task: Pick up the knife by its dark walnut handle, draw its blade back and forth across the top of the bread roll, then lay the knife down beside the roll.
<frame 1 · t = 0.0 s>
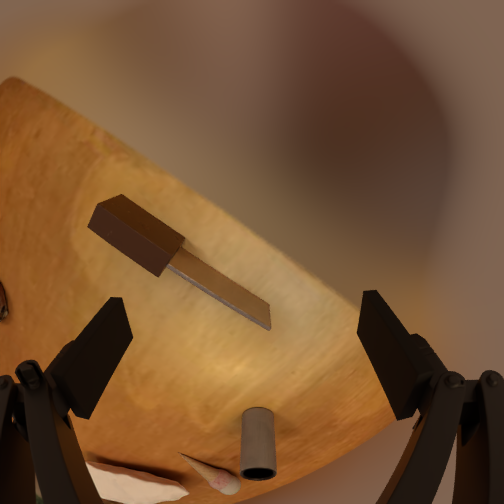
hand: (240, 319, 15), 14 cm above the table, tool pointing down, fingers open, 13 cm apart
knife: (179, 247, 28), on the table
white rock slab: (131, 472, 48), on the table
grey cylinder: (257, 415, 37), on the table
ice cream cone: (209, 466, 43), on the table
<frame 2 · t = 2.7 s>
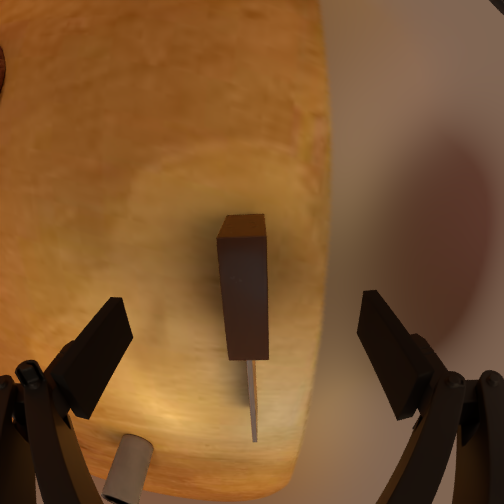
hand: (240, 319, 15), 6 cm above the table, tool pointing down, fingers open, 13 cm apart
knife: (250, 317, 22), on the table
grey cylinder: (138, 441, 30), on the table
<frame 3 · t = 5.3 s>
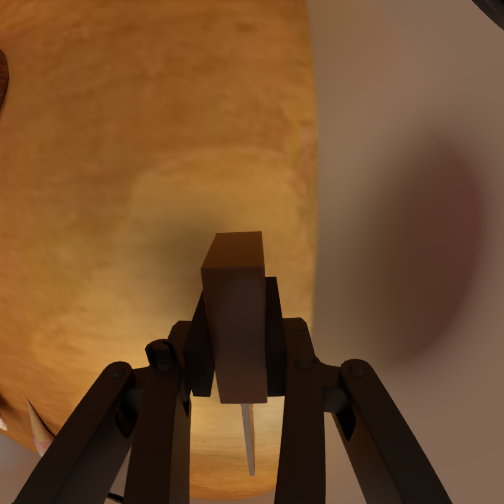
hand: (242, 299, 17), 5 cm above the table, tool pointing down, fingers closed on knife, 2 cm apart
knife: (246, 348, 18), point 5 cm above the table, touching gripper
grey cylinder: (136, 439, 30), on the table
ice cream cone: (42, 424, 32), on the table
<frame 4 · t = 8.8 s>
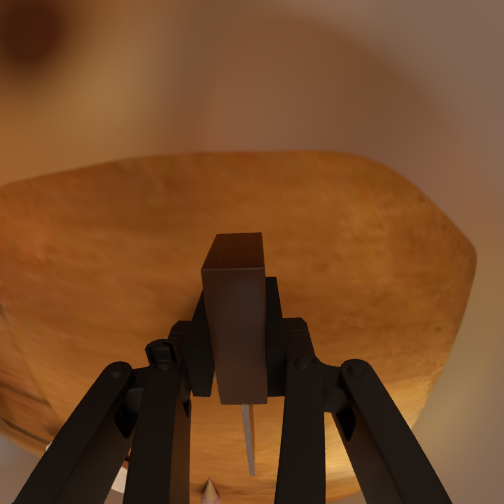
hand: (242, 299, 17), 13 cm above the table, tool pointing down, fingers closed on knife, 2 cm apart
knife: (246, 349, 18), point 12 cm above the table, touching gripper
white rock slab: (113, 457, 47), on the table
ice cream cone: (208, 487, 50), on the table
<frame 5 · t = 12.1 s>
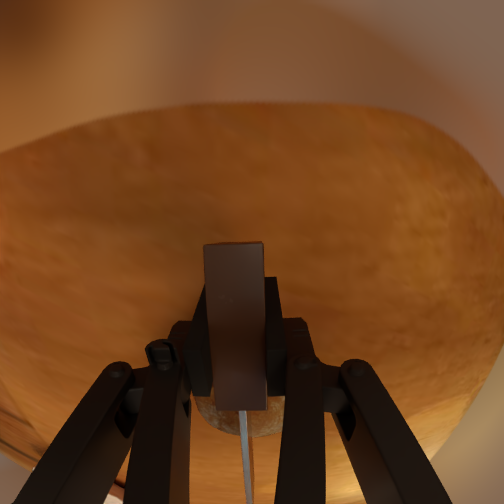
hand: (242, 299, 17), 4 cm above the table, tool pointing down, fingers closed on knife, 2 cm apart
bread roll: (250, 369, 24), on the table
knife: (245, 368, 17), point 5 cm above the table, tilted 17°, touching gripper
white rock slab: (106, 481, 38), on the table
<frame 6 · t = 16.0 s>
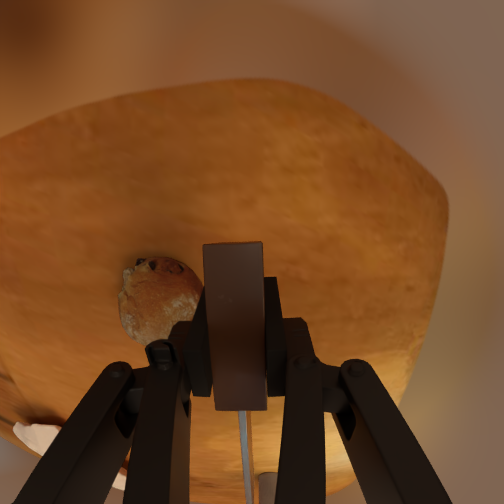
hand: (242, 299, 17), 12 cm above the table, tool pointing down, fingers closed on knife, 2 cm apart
bread roll: (166, 295, 30), on the table
knife: (245, 368, 17), point 13 cm above the table, tilted 17°, touching gripper
white rock slab: (77, 440, 44), on the table
grey cylinder: (269, 475, 45), on the table
when the fingers open (0 cm above the table, at t = 19.7 s): knife stays where it is, on the table.
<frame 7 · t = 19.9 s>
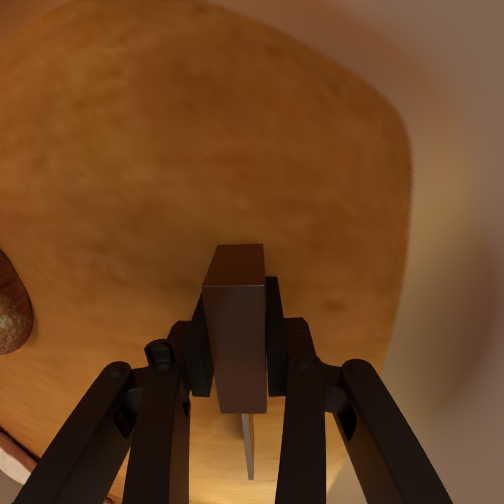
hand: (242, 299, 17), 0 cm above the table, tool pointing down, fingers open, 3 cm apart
knife: (246, 357, 18), on the table, touching gripper
white rock slab: (7, 438, 32), on the table
ice cream cone: (98, 492, 35), on the table
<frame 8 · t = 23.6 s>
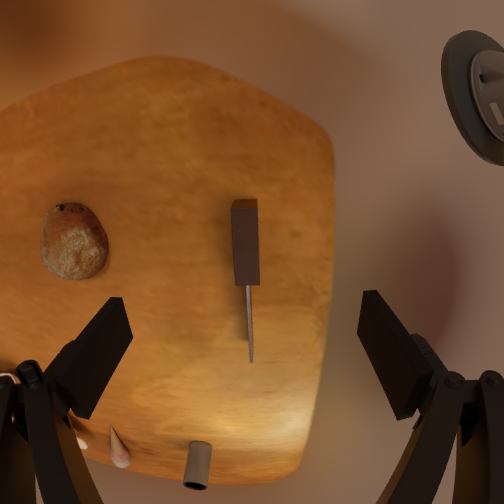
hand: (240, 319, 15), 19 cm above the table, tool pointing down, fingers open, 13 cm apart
bread roll: (79, 237, 33), on the table
knife: (248, 266, 34), on the table
grey cylinder: (201, 445, 48), on the table
ice cream cone: (117, 440, 50), on the table
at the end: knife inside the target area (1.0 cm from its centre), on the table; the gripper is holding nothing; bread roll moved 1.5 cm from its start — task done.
